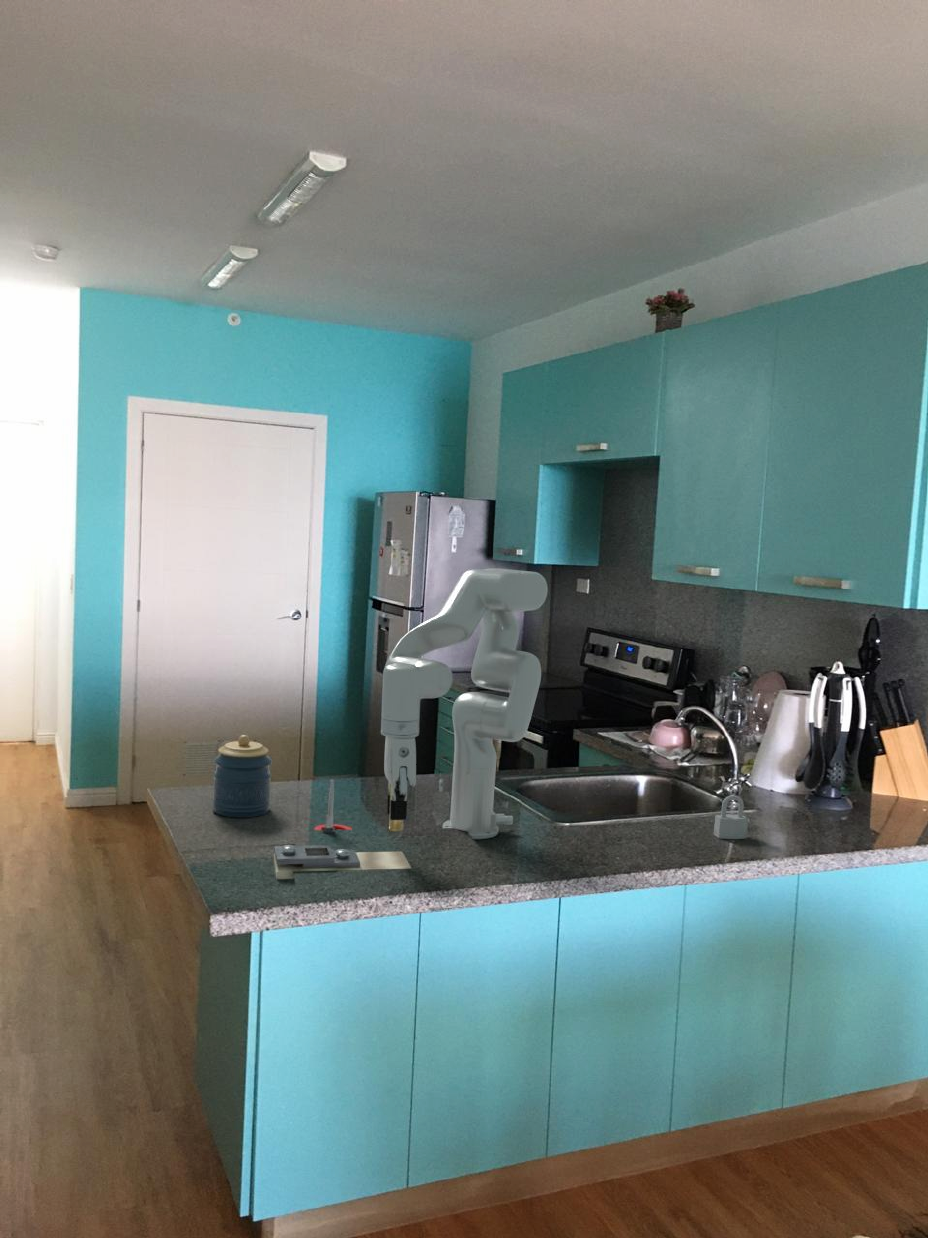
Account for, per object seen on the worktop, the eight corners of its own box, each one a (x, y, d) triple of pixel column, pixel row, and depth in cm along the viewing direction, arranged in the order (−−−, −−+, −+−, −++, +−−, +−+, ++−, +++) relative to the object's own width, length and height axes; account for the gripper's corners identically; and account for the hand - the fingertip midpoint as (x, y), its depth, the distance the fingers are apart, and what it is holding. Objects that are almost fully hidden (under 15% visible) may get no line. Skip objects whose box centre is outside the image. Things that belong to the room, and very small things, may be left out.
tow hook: (320, 827, 231) (308, 838, 222) (324, 770, 230) (312, 778, 221) (357, 832, 230) (346, 842, 221) (361, 774, 229) (350, 782, 220)
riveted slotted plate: (354, 854, 209) (355, 840, 208) (359, 867, 201) (360, 852, 201) (273, 856, 205) (274, 841, 204) (276, 869, 197) (277, 854, 197)
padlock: (719, 840, 239) (723, 797, 238) (712, 834, 243) (715, 793, 242) (747, 840, 241) (751, 798, 240) (739, 834, 245) (743, 793, 244)
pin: (401, 826, 208) (403, 778, 207) (404, 831, 206) (406, 782, 204) (387, 827, 208) (389, 778, 206) (390, 831, 205) (392, 782, 204)
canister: (243, 799, 247) (246, 726, 246) (281, 811, 240) (285, 736, 238) (200, 809, 237) (203, 734, 235) (238, 822, 229) (242, 744, 228)
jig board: (401, 858, 212) (402, 851, 212) (411, 875, 203) (411, 868, 203) (273, 861, 206) (273, 854, 206) (276, 879, 196) (276, 871, 196)
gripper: (427, 736, 197) (423, 829, 199) (410, 717, 213) (407, 803, 215) (388, 737, 195) (384, 831, 198) (374, 717, 211) (371, 804, 213)
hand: (396, 816), depth 206 cm, fingers closed on pin, 2 cm apart
